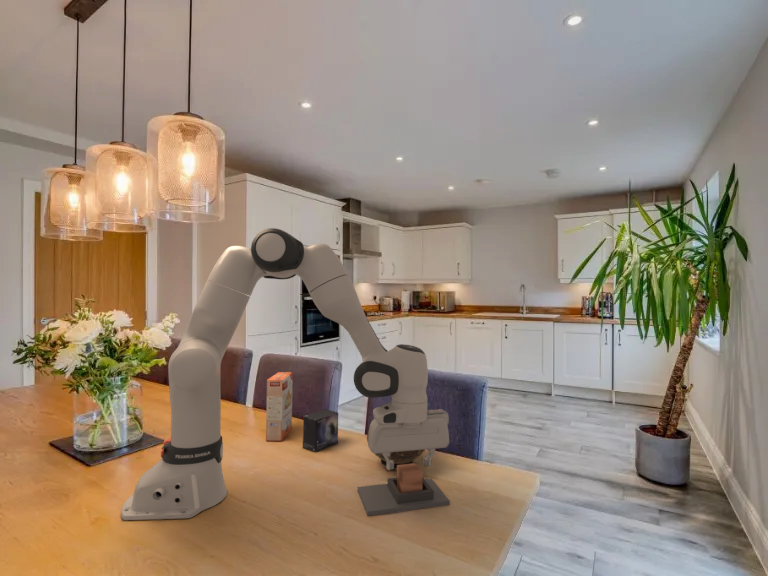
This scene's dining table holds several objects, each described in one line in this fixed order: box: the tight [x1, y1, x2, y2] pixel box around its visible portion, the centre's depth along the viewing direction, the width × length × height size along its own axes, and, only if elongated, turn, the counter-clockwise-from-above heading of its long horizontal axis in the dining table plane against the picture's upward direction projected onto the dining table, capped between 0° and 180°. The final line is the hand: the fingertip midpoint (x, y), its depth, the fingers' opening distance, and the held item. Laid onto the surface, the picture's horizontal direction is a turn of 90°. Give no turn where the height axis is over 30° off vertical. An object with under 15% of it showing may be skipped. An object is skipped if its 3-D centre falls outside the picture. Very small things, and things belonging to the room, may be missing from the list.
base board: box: [357, 476, 451, 517], centre depth 101 cm, size 20×12×3 cm, turn 104°
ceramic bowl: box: [366, 430, 426, 470], centre depth 121 cm, size 24×18×15 cm
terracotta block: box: [396, 462, 423, 493], centre depth 101 cm, size 5×5×6 cm
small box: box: [302, 408, 339, 453], centre depth 135 cm, size 11×6×10 cm, turn 143°
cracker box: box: [265, 371, 294, 442], centre depth 145 cm, size 14×6×21 cm, turn 179°
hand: (408, 467), depth 101 cm, fingers open, 8 cm apart
